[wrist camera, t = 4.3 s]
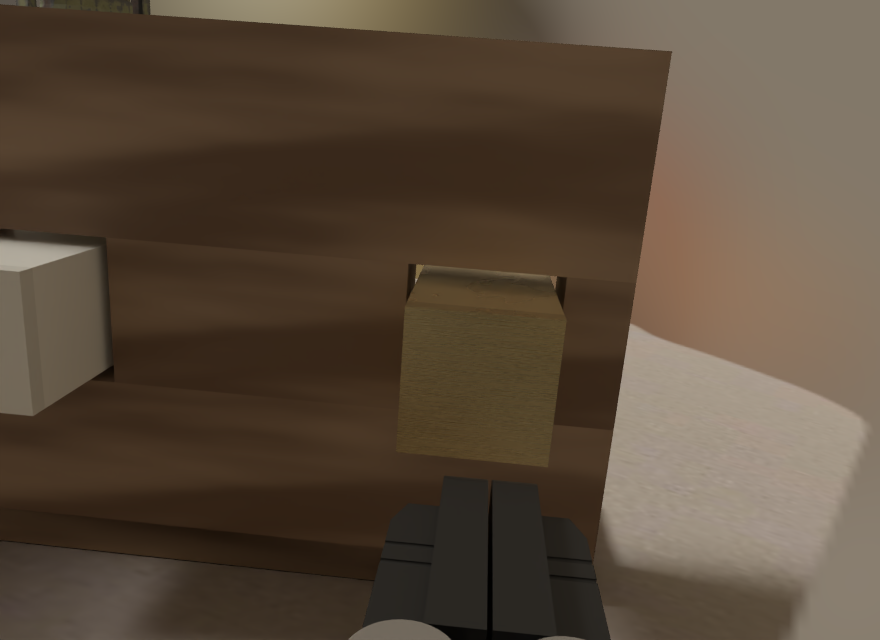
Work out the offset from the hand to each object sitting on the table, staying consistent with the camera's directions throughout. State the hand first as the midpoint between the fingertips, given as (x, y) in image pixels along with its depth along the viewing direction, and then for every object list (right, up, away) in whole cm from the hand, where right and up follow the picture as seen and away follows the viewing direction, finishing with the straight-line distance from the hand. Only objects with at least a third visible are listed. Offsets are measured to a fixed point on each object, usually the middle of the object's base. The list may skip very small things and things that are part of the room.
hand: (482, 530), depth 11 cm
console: (-8, -5, +20) cm, 22 cm away
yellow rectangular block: (+1, 0, +13) cm, 13 cm away
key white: (-15, +2, +14) cm, 21 cm away
